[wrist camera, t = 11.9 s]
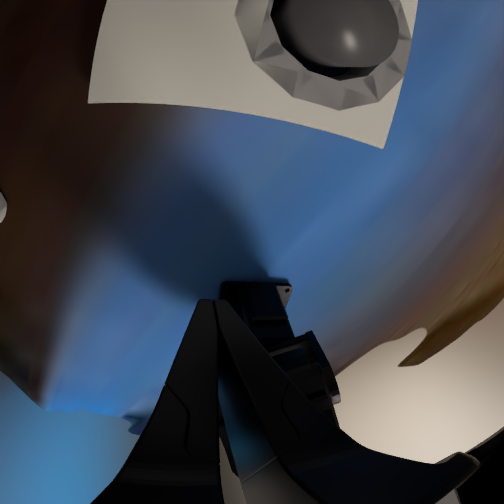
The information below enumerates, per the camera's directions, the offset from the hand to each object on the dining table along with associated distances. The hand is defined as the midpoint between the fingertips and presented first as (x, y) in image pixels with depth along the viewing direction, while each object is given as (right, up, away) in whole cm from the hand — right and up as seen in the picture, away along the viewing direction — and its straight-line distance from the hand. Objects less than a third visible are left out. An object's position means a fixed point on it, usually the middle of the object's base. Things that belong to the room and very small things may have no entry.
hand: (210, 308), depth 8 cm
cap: (+5, +16, +5) cm, 18 cm away
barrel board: (+2, +16, +4) cm, 17 cm away
